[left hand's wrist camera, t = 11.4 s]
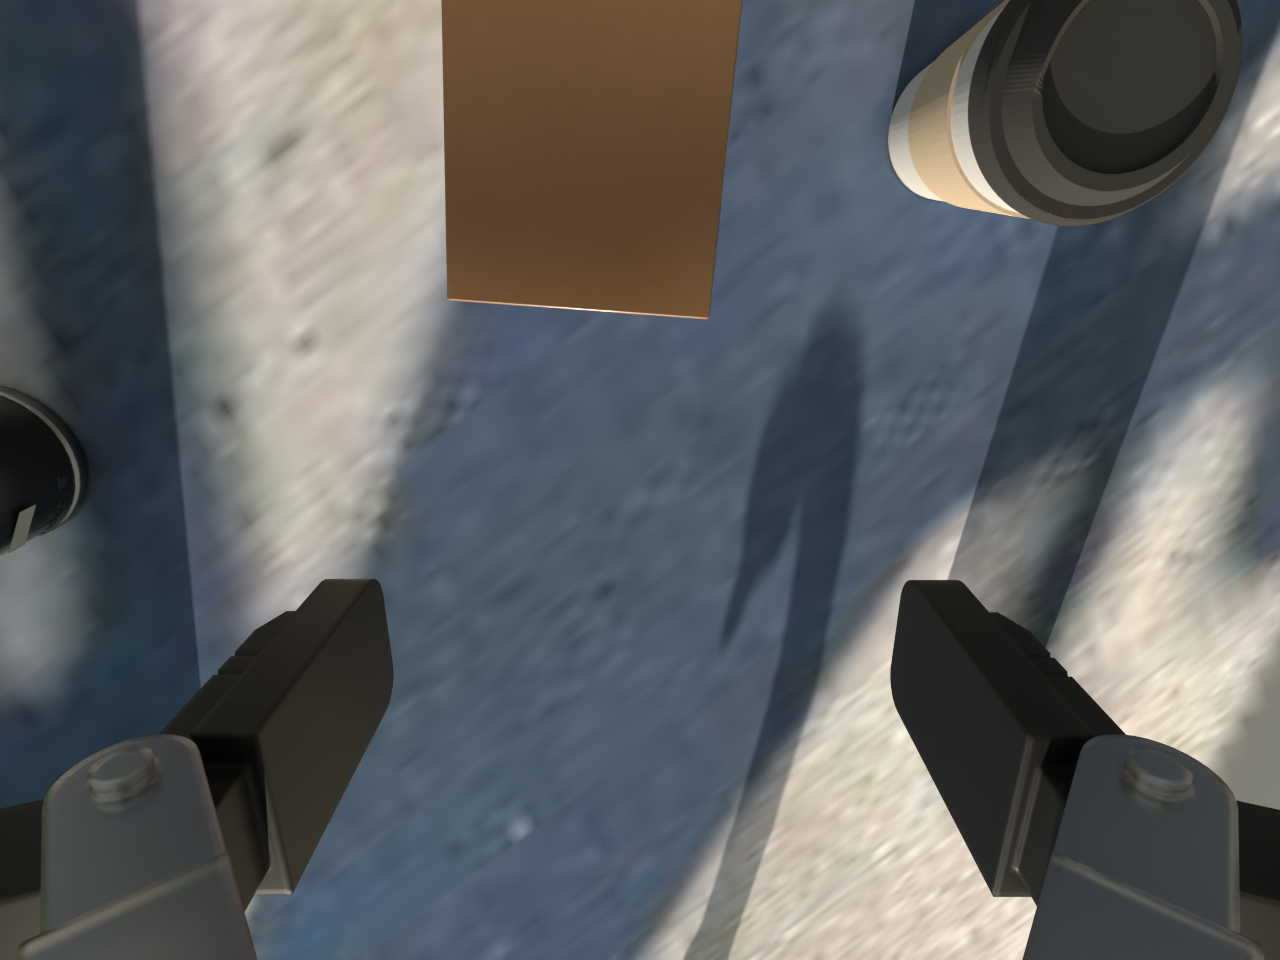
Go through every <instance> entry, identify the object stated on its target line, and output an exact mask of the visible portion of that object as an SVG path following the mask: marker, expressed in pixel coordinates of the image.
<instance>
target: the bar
mask: <svg viewBox="0 0 1280 960" xmlns="http://www.w3.org/2000/svg"><path fill="white" fill-rule="evenodd" d="M741 9H742V0H442V45H443V98H444V151H445V204H446V257H447V298H448V300H451V301H465V302H478V303H492V304H506V305H519V306H533V307H546V308H560V309H573V310H587V311H601V312H614V313H628V314H641V315H655V316H669V317H682V318H696V319H708V318H709V315H710V306H711V296H712V287H713V277H714V267H715V258H716V248H717V239H718V229H719V219H720V210H721V200H722V191H723V181H724V172H725V162H726V152H727V143H728V133H729V124H730V114H731V104H732V95H733V85H734V76H735V66H736V57H737V47H738V37H739V28H740V18H741Z"/></svg>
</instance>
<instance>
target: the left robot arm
mask: <svg viewBox="0 0 1280 960" xmlns="http://www.w3.org/2000/svg"><path fill="white" fill-rule="evenodd" d="M87 480H88V478H87V469H86V464H85V460H84V457H83V455H82V452H81V450H80V448H79V446H78V444H77V442H76V440H75V438H74V437H73V435H72V434H71V433H70V431H69V430H68V428H67V427H66V426H65V425H64V424H63V423H62V422H61V421H60V420H59V419H58V418H57V416H55V415H54V414H53V413H52V412H51V411H50V410H48V409H47V408H46V407H44V406H43V405H42V404H40V403H38V402H37V401H35V400H34V399H32V398H30V397H28V396H26V395H24V394H22V393H19V392H17V391H14V390H11V389H7V388H3V387H0V556H1V555H3V554H5V553H7V552H9V553H10V552H12V551H14V550H15V549H17V548H19V547H21V546H23V545H25V543H26V542H27V541H29V540H31V539H33V538H35V537H37V536H40V535H43V534H46V533H48V532H50V531H52V530H54V529H56V528H57V527H59V526H61V525H63V524H64V523H66V522H67V521H69V520H70V519H71V518H72V517H73V516H74V515H75V514H76V513H77V512H78V510H79V509H80V507H81V505H82V503H83V501H84V499H85V495H86V491H87ZM890 677H891V690H892V696H893V700H894V704H895V707H896V709H897V711H898V713H899V715H900V717H901V719H902V721H903V723H904V725H905V727H906V729H907V731H908V733H909V735H910V737H911V738H912V740H913V742H914V744H915V746H916V748H917V750H918V752H919V754H920V756H921V758H922V760H923V762H924V764H925V765H926V767H927V769H928V771H929V773H930V775H931V777H932V779H933V781H934V783H935V785H936V787H937V789H938V791H939V793H940V794H941V796H942V798H943V800H944V802H945V804H946V806H947V808H948V810H949V812H950V814H951V816H952V818H953V820H954V822H955V823H956V825H957V827H958V829H959V831H960V833H961V835H962V837H963V839H964V841H965V843H966V845H967V847H968V849H969V850H970V852H971V854H972V856H973V858H974V860H975V862H976V864H977V866H978V868H979V870H980V872H981V874H982V876H983V877H984V879H985V881H986V883H987V885H988V887H989V889H990V891H991V893H992V895H993V897H1032V899H1033V900H1034V902H1035V904H1036V906H1037V909H1036V913H1035V916H1034V920H1033V924H1032V927H1031V931H1030V934H1029V938H1028V942H1027V945H1026V949H1025V953H1024V956H1023V960H1280V810H1277V809H1273V808H1268V807H1263V806H1259V805H1254V804H1249V803H1245V802H1241V801H1237V800H1236V799H1235V797H1234V794H1233V793H1232V791H1231V790H1230V788H1229V787H1228V786H1227V784H1226V783H1225V782H1224V781H1223V780H1222V779H1221V778H1220V777H1219V776H1218V775H1217V774H1215V773H1214V772H1213V771H1212V770H1210V769H1209V768H1208V767H1206V766H1205V765H1204V764H1202V763H1201V762H1199V761H1198V760H1196V759H1194V758H1192V757H1191V756H1189V755H1187V754H1185V753H1183V752H1181V751H1179V750H1177V749H1175V748H1173V747H1170V746H1167V745H1165V744H1162V743H1159V742H1156V741H1153V740H1150V739H1146V738H1141V737H1137V736H1130V735H1126V734H1125V733H1124V732H1123V731H1122V730H1121V729H1120V728H1119V727H1118V726H1117V725H1116V724H1115V722H1114V721H1113V720H1112V719H1111V718H1110V717H1109V716H1108V715H1107V714H1106V713H1105V712H1104V711H1103V710H1102V709H1101V707H1100V706H1099V705H1098V704H1097V703H1096V702H1095V701H1094V700H1093V699H1092V698H1091V697H1090V696H1089V695H1088V694H1087V692H1086V691H1085V690H1084V689H1083V688H1082V687H1081V686H1080V685H1079V684H1078V683H1077V682H1076V681H1075V680H1074V679H1073V677H1068V675H1067V671H1066V670H1065V669H1064V668H1063V667H1062V666H1061V665H1060V664H1059V662H1058V661H1057V660H1056V659H1055V658H1051V657H1050V653H1049V652H1048V651H1047V650H1046V649H1045V647H1044V646H1043V645H1042V644H1041V643H1040V642H1039V641H1038V640H1037V639H1036V638H1035V637H1034V636H1033V635H1032V634H1031V632H1030V631H1028V630H1026V629H1025V628H1023V627H1021V626H1020V625H1018V624H1016V623H1015V622H1013V621H1011V620H1010V619H1008V618H1006V617H1005V616H1003V615H1001V614H1000V613H989V612H988V611H987V610H986V608H985V607H984V606H983V605H982V604H981V603H980V602H979V600H978V599H977V598H976V597H975V596H974V595H973V594H972V592H971V591H970V590H969V589H968V588H967V587H966V586H965V584H963V583H962V582H961V581H959V580H909V581H907V582H906V583H905V585H904V587H903V589H902V593H901V598H900V606H899V613H898V620H897V627H896V634H895V641H894V648H893V656H892V663H891V675H890ZM392 687H393V663H392V656H391V648H390V641H389V634H388V627H387V619H386V612H385V605H384V598H383V592H382V588H381V586H380V584H379V582H378V581H377V580H375V579H325V580H323V581H322V582H321V583H320V584H319V585H318V586H317V587H316V588H315V590H314V591H313V592H312V593H311V594H310V595H309V596H308V598H307V599H306V600H305V601H304V602H303V603H302V604H301V606H300V607H299V608H298V609H297V610H296V611H286V612H284V613H283V614H281V615H279V616H278V617H276V618H274V619H273V620H271V621H269V622H268V623H266V624H264V625H263V626H261V627H259V628H258V629H256V630H255V631H254V632H253V633H252V634H251V635H250V636H249V637H248V638H247V640H246V641H245V642H244V643H243V644H242V645H241V646H240V647H239V648H238V649H237V650H236V651H235V656H231V657H230V658H229V659H228V660H227V661H226V662H225V663H224V664H223V665H222V667H221V668H220V669H219V670H218V675H213V676H212V677H211V678H210V680H209V681H208V682H207V683H206V684H205V685H204V686H203V687H202V688H201V689H200V690H199V691H198V692H197V694H196V695H195V696H194V697H193V698H192V699H191V700H190V701H189V702H188V703H187V704H186V705H185V707H184V708H183V709H182V710H181V711H180V712H179V713H178V714H177V715H176V716H175V717H174V718H173V720H172V721H171V722H170V723H169V724H168V725H167V726H166V727H165V728H164V729H163V730H162V731H161V732H160V734H159V735H150V736H143V737H139V738H134V739H130V740H127V741H124V742H121V743H118V744H115V745H113V746H110V747H107V748H105V749H103V750H101V751H99V752H97V753H95V754H93V755H91V756H89V757H88V758H86V759H84V760H82V761H81V762H79V763H78V764H76V765H75V766H74V767H72V768H71V769H70V770H68V771H67V772H66V773H65V774H63V775H62V776H61V777H60V778H59V779H58V780H57V781H56V782H55V783H54V784H53V786H52V787H51V788H50V790H49V791H48V793H47V794H46V797H45V799H44V800H39V801H35V802H30V803H25V804H21V805H16V806H11V807H7V808H2V809H0V960H257V956H256V953H255V949H254V945H253V942H252V938H251V934H250V931H249V927H248V924H247V920H246V916H245V913H244V912H245V910H246V908H247V907H248V905H249V903H250V901H251V900H252V898H253V896H254V894H292V893H293V892H294V890H295V888H296V886H297V884H298V882H299V880H300V878H301V876H302V874H303V872H304V870H305V868H306V866H307V864H308V862H309V860H310V858H311V856H312V854H313V852H314V850H315V849H316V847H317V845H318V843H319V841H320V839H321V837H322V835H323V833H324V831H325V829H326V827H327V825H328V823H329V821H330V819H331V817H332V815H333V813H334V811H335V809H336V807H337V806H338V804H339V802H340V800H341V798H342V796H343V794H344V792H345V790H346V788H347V786H348V784H349V782H350V780H351V778H352V776H353V774H354V772H355V770H356V768H357V766H358V764H359V762H360V761H361V759H362V757H363V755H364V753H365V751H366V749H367V747H368V745H369V743H370V741H371V739H372V737H373V735H374V733H375V731H376V729H377V727H378V725H379V723H380V721H381V719H382V718H383V716H384V714H385V712H386V710H387V707H388V705H389V702H390V698H391V693H392Z"/></svg>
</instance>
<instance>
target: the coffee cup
mask: <svg viewBox="0 0 1280 960" xmlns="http://www.w3.org/2000/svg"><path fill="white" fill-rule="evenodd" d="M1241 56H1242V25H1241V18H1240V12H1239V8H1238V4H1237V1H1236V0H1005V1H1004V2H1002V3H1001V4H1000V5H999V6H998V7H996V8H995V9H994V10H993V11H991V12H990V13H989V14H988V15H987V16H985V17H984V18H983V19H982V20H981V21H979V22H978V23H977V24H976V25H974V26H973V27H972V28H971V29H970V30H968V31H967V32H966V33H965V34H964V35H962V36H961V37H960V38H959V39H957V40H956V41H955V42H954V43H953V44H951V45H950V46H949V47H948V48H947V49H946V50H945V51H944V52H943V53H942V54H941V55H940V56H939V57H938V58H937V59H936V60H935V61H934V62H932V63H931V64H930V65H929V66H927V67H926V68H925V69H923V70H922V71H921V72H920V73H919V74H917V75H916V76H915V77H914V78H913V80H912V81H911V82H910V83H909V84H908V85H907V87H906V88H905V90H904V91H903V93H902V94H901V96H900V98H899V100H898V101H897V104H896V106H895V108H894V111H893V114H892V117H891V121H890V126H889V135H888V144H889V153H890V158H891V161H892V164H893V167H894V169H895V171H896V173H897V175H898V176H899V178H900V179H901V180H902V182H903V183H904V184H905V185H906V186H907V187H908V188H909V189H911V190H912V191H913V192H915V193H917V194H918V195H920V196H923V197H925V198H929V199H933V200H939V201H946V202H948V203H950V204H952V205H955V206H959V207H963V208H969V209H975V210H981V211H986V212H992V213H998V214H1004V215H1010V216H1016V217H1022V218H1030V219H1033V220H1036V221H1039V222H1042V223H1046V224H1051V225H1058V226H1084V225H1091V224H1096V223H1100V222H1104V221H1107V220H1110V219H1113V218H1116V217H1119V216H1121V215H1123V214H1125V213H1128V212H1130V211H1132V210H1133V209H1135V208H1138V207H1139V206H1141V205H1143V204H1145V203H1147V202H1148V201H1150V200H1152V199H1153V198H1155V197H1156V196H1158V195H1159V194H1161V193H1162V192H1163V191H1165V190H1166V189H1167V188H1169V187H1170V186H1171V185H1172V184H1173V183H1174V182H1176V181H1177V180H1178V179H1179V178H1180V177H1181V176H1182V175H1183V174H1184V173H1185V172H1186V171H1187V170H1188V169H1189V168H1190V167H1191V166H1192V165H1193V163H1194V162H1195V161H1196V160H1197V159H1198V157H1199V156H1200V155H1201V154H1202V152H1203V151H1204V150H1205V148H1206V147H1207V145H1208V144H1209V142H1210V141H1211V139H1212V138H1213V136H1214V135H1215V133H1216V131H1217V129H1218V128H1219V126H1220V124H1221V122H1222V120H1223V118H1224V116H1225V114H1226V111H1227V109H1228V107H1229V104H1230V102H1231V99H1232V96H1233V93H1234V90H1235V87H1236V83H1237V79H1238V75H1239V70H1240V64H1241Z"/></svg>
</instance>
